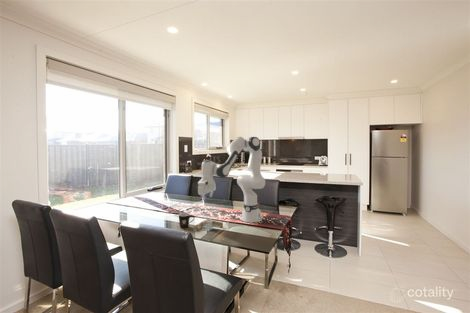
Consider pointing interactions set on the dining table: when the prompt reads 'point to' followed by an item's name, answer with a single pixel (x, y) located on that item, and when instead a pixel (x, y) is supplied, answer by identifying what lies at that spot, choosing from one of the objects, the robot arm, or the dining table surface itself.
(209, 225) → the bracket
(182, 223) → the coffee mug
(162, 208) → the dining table surface
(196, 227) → the corner walls
